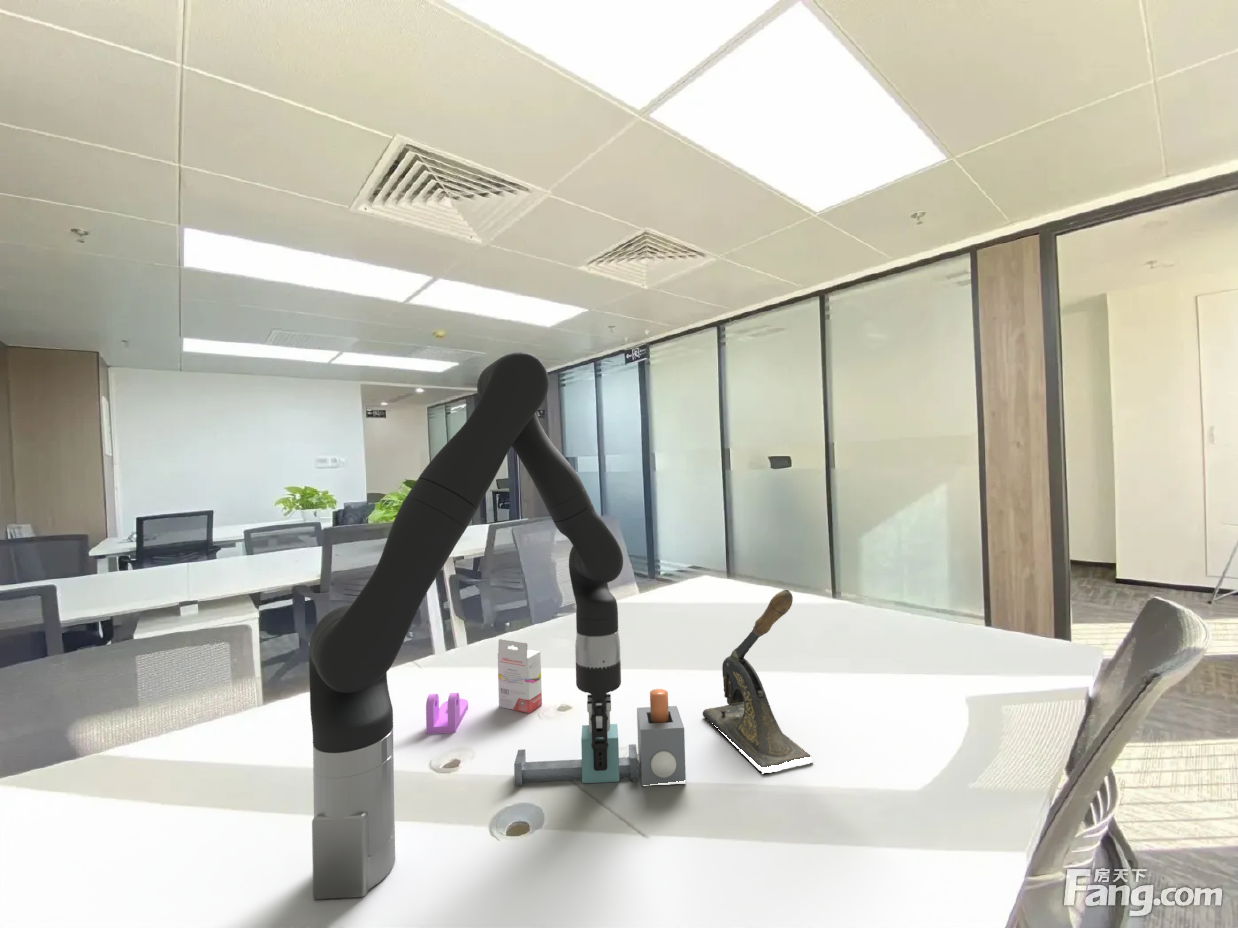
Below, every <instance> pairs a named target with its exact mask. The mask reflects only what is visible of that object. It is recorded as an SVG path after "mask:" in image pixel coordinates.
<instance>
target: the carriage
mask: <svg viewBox="0 0 1238 928" xmlns="http://www.w3.org/2000/svg"><path fill="white" fill-rule="evenodd" d="M580 739H581V759H582V780H581V781H582V784H592V783H597V784H598V783H612V782H613V783H614V782H615V783H616V782H620V778H619V758H620V754H619V753H620V752H619V750H620V749H619V729H618V723H610V730H609V731H608V732H607V741H608V745H609V746H608V749H607V769H606V770H604V771H595V770H594V759H593V750H592V747H591V744H592V732H590V730H589V724H588V725H587V724H584V725H581V738H580ZM596 739H604V738H603V737H599V738H595V740H596ZM604 740H605V739H604Z"/></svg>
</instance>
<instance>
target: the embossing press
mask: <svg viewBox="0 0 1238 928" xmlns="http://www.w3.org/2000/svg"><path fill="white" fill-rule="evenodd" d="M793 601H794V597H793V594H792V593H791V591H790V590H789V589H783V590H782V591H781V590H780V591H779V592H778V593H776V594H775V595H774V596H773V597H772V598H771V600H770V601H769V603H768V605H767V607H766V609H765V610H764V612H763V613H762V614H761V616H760V617H758V618H757V619H756V621H755V622H754V625H753V629H751V632H749V634H748V635H747V636H746V638H745V639H743V641H742V642H741V643H740V644H739V645H738V646H737V647H735V649H733V650H732V651H731V654H730V655H729V656H727V657H726V658H725V659H724V660H723V662H722V667H721V669H722V670H721V671H722V679H723V692H724V694H723V695H724V698H726V703H727V704H726V705H723V706H722V705H721V706H717V707H711V708H705V709H703V711H702V716H703V717H704V719H706V718H707V719H708V720H709V721H710V722H711V723H713V724H714V725H715V726H716V727H718V729H719V730H720V731H721V732H723V733H724V734H725V735H727V737H728V738H729V739H731V741H732V742H734V743H735V744H736V745H737V746H738V747H739V748H740V749H742V750H743V751H744V752H745V753H746V754H747V755H748V756H749V757H751V758H752V759H753V760H754V761H755V762H756V763H757V764H758V765H760V766H761V767H767V766H768V767H769V766H771V765H779V764H782V763H784V762H786V761H787V762H789V761H791V760H794V759H800V758H804V757H810V756H811V755H810V754H809V753H808V752H807V751H806V750H804V748H802V747H801V746H800V745H798V744H797V743H796V742H794V741H793V740H792V739H790V737H789V736H787V735H786V734H784V733H783V731H782V730H781V728H780V726H779V724H778V722H777V720H776V718H775V715H774V713H773V710H772V708H771V705H770V703H769V700H768V697H767V694H766V691H765V689H764V687H763V683H762V681H761V679H760V677H759V675H758V673H757V671H756V670H755V669H754V667H753V666H752V665H751V663H750V662H749V661H748V660H747V659H746V658H745V656H746V654H748V653H749V651H750V649H751V648H752V647H753V646H754V644H755V643H756V642H757V641H758V639H759V638H760V637H762V636H764V635H766V634H768V633H769V632H770V630H771V628H772V626H773V625H775V623H776V622H777V621H778V620H779V619H781V618H782V617H783V616H784V615H786V614H787V613H788V611H789V610H790V609H791V607H792V606H793ZM707 719H706V720H707ZM708 720H707V721H708ZM709 721H708V722H709ZM710 722H709V723H710ZM711 723H710V724H711ZM805 751H806V752H805Z"/></svg>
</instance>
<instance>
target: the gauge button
mask: <svg viewBox="0 0 1238 928" xmlns="http://www.w3.org/2000/svg"><path fill="white" fill-rule="evenodd" d="M649 705H650V706H649V707H650V712H651V721H652V722H654V723H665V722H667V721H668V720H669V716H668V706H669V692H668V691H667V689H663V688H655V689H652V690H650V691H649Z"/></svg>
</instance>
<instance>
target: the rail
mask: <svg viewBox="0 0 1238 928" xmlns="http://www.w3.org/2000/svg"><path fill="white" fill-rule="evenodd" d="M515 756H516V757H515V760H514V766H513V768H514V769H513V770H514V771H513V773H514V774H513V775H514V776H513V777H514V778H513V779H514V787H523V784H524V783H538V782H539V783H541V782H542V783H543V782H559V781H563V782H564V781H577V780H579V781H580V780H581V781H582V758H581V759H563V760H544V761H527V760H526V759H527V758H526V748H525V749H518V750H517V752H516V755H515ZM624 777H625V778H630V781H631V780H636V781H639V760H638V749H637V744H635V743H633V744H628V756H625V757H623V756H622V757H619V779H621V778H624Z"/></svg>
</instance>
